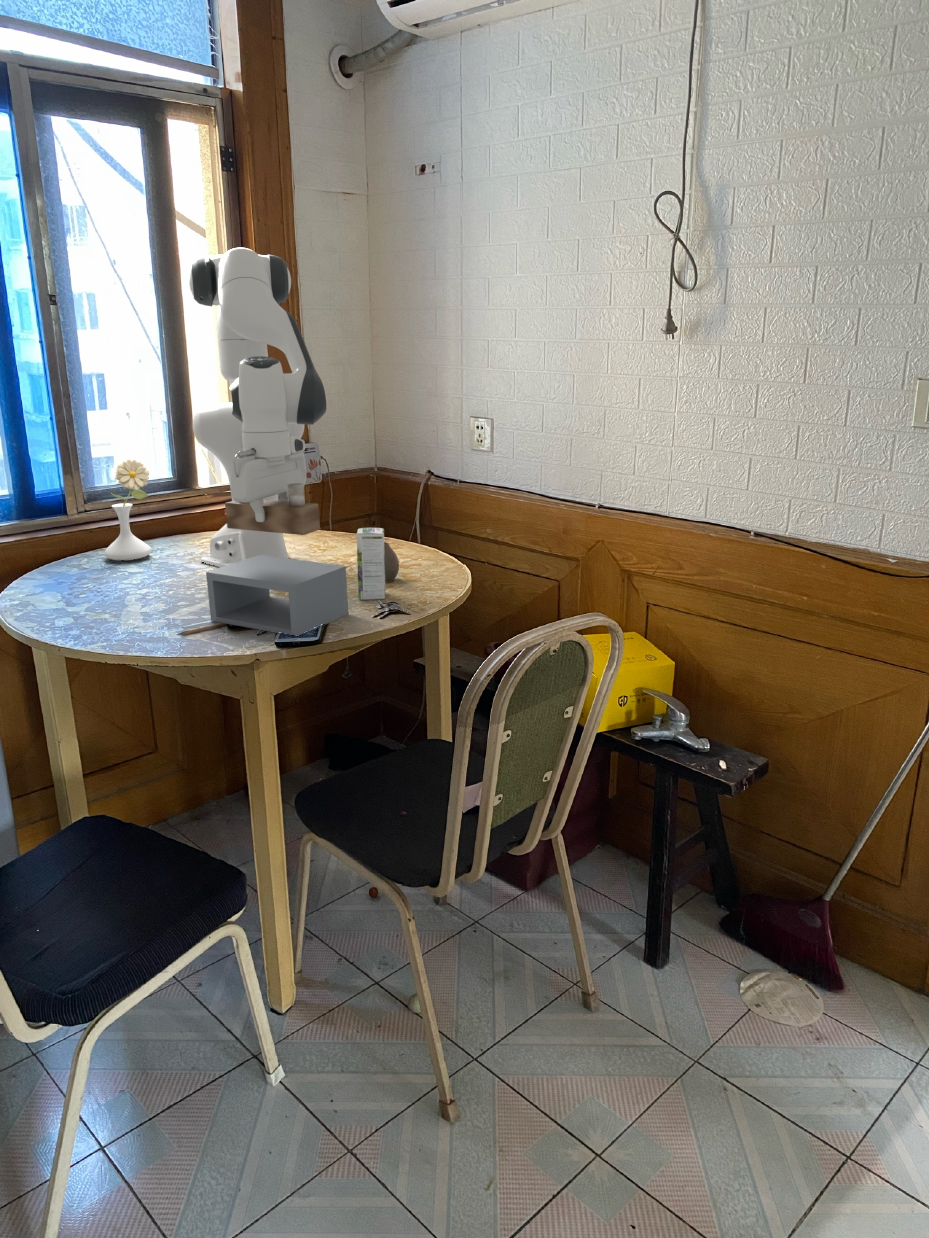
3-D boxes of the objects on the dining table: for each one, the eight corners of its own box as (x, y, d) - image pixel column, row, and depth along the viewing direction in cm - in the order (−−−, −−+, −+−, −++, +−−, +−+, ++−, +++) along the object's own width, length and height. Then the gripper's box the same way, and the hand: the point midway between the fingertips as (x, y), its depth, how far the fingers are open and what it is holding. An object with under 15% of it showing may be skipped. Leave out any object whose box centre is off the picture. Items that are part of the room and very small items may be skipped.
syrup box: (359, 593, 200) (356, 527, 195) (386, 592, 200) (383, 527, 196) (358, 600, 194) (355, 533, 190) (386, 599, 195) (383, 532, 190)
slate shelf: (211, 620, 182) (206, 572, 179) (264, 600, 195) (260, 554, 192) (297, 636, 172) (294, 585, 169) (348, 614, 185) (345, 566, 182)
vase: (394, 585, 206) (393, 547, 203) (365, 583, 207) (363, 546, 204) (403, 577, 212) (401, 540, 210) (374, 576, 214) (372, 539, 211)
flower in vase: (102, 565, 227) (88, 464, 219) (108, 555, 237) (95, 458, 230) (157, 561, 229) (145, 461, 222) (160, 551, 240) (149, 455, 232)
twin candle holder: (227, 528, 179) (223, 482, 177) (245, 522, 184) (241, 478, 181) (303, 535, 172) (300, 487, 169) (320, 529, 177) (317, 483, 174)
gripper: (247, 453, 163) (253, 529, 167) (309, 440, 181) (314, 509, 185) (218, 452, 165) (225, 527, 170) (283, 439, 183) (288, 508, 188)
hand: (272, 518), depth 178 cm, fingers closed on twin candle holder, 6 cm apart
